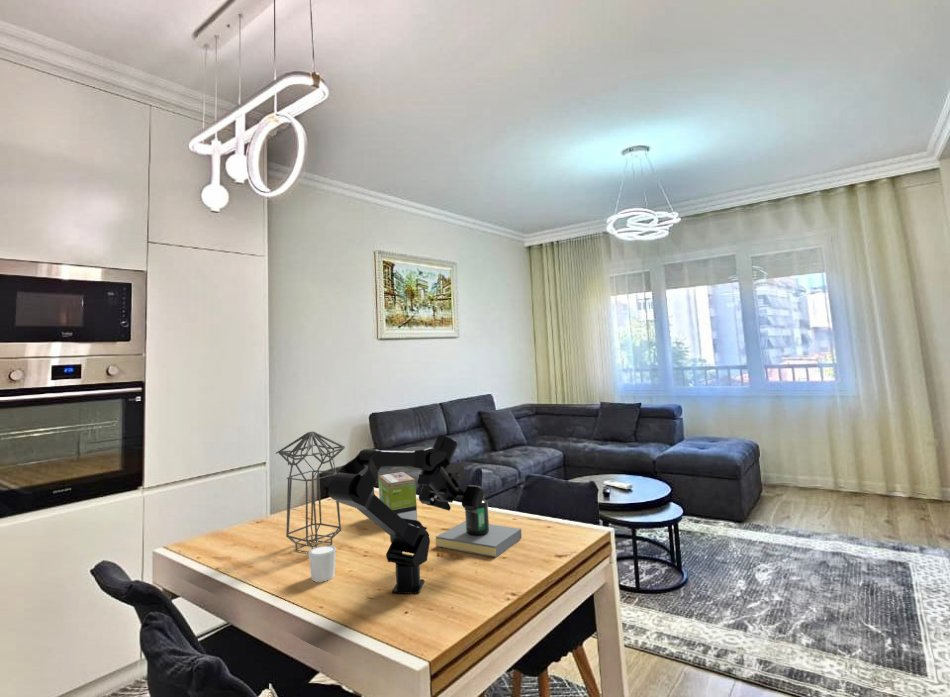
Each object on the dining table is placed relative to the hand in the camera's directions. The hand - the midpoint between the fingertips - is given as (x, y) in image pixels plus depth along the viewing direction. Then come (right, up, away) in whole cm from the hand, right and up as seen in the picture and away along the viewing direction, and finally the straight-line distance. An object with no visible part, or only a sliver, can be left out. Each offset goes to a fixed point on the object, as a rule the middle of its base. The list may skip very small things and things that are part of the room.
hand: (463, 510), depth 139 cm
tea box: (-24, -15, +36) cm, 45 cm away
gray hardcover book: (+5, -12, +6) cm, 14 cm away
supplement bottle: (+4, -9, +7) cm, 12 cm away
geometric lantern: (-45, -14, +9) cm, 48 cm away
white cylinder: (-36, -13, -13) cm, 40 cm away
